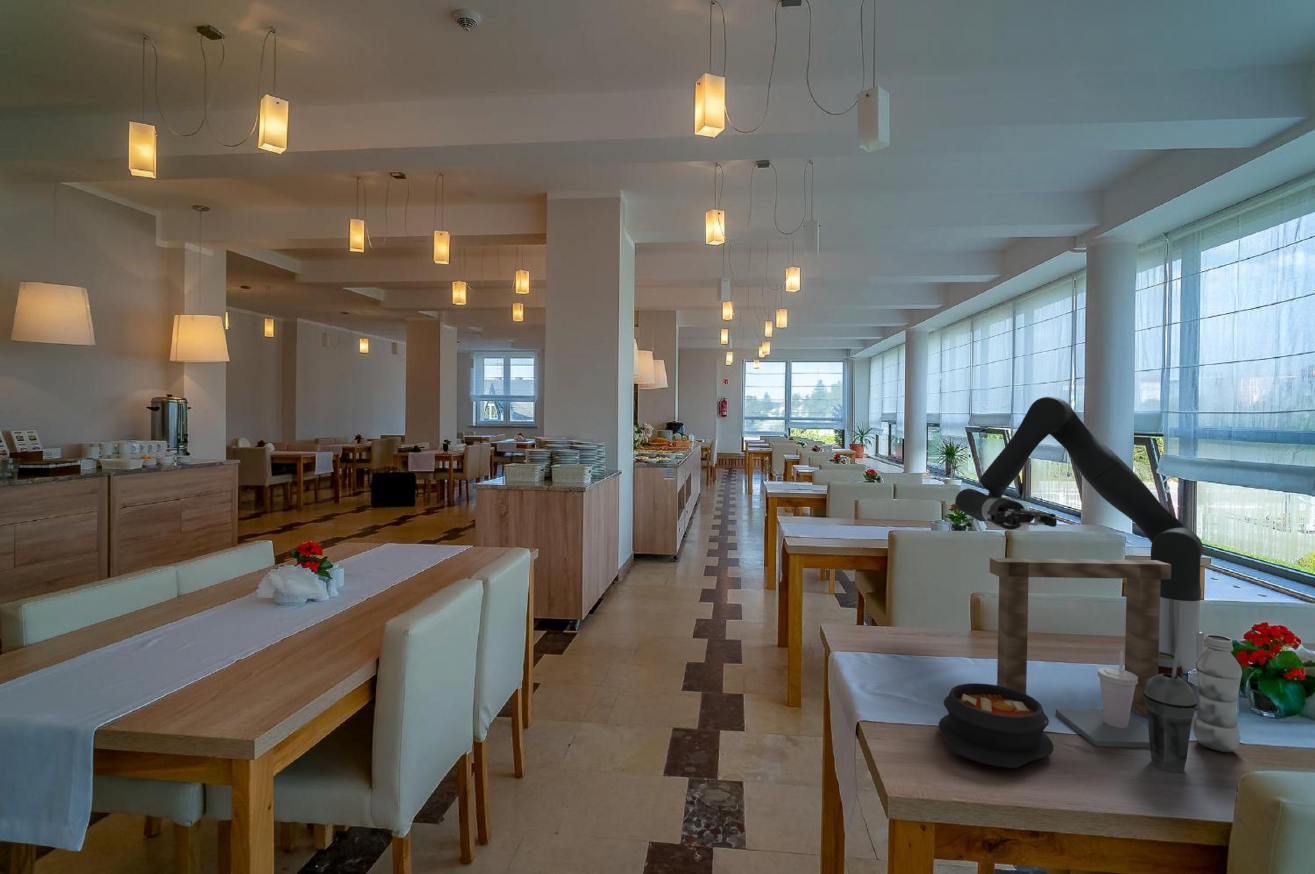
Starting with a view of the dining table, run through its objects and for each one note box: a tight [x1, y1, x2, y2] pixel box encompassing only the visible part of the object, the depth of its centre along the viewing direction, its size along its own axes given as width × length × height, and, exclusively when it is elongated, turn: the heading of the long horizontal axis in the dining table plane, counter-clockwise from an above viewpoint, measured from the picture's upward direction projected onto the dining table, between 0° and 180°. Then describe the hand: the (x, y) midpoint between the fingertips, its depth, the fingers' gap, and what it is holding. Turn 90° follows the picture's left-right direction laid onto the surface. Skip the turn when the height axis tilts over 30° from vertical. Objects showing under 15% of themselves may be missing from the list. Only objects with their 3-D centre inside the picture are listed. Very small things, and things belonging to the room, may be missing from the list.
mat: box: [1055, 708, 1150, 749], centre depth 126 cm, size 13×13×1 cm
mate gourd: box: [1158, 637, 1184, 679], centre depth 143 cm, size 8×8×15 cm
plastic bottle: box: [1192, 634, 1243, 753], centre depth 119 cm, size 6×7×20 cm
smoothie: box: [1096, 650, 1138, 728], centre depth 126 cm, size 6×6×14 cm
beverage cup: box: [1143, 649, 1198, 773], centre depth 113 cm, size 7×7×20 cm
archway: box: [989, 557, 1171, 719], centre depth 136 cm, size 34×10×30 cm, turn 87°
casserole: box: [938, 682, 1055, 769], centre depth 120 cm, size 25×19×8 cm
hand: (1036, 522), depth 156 cm, fingers open, 8 cm apart
